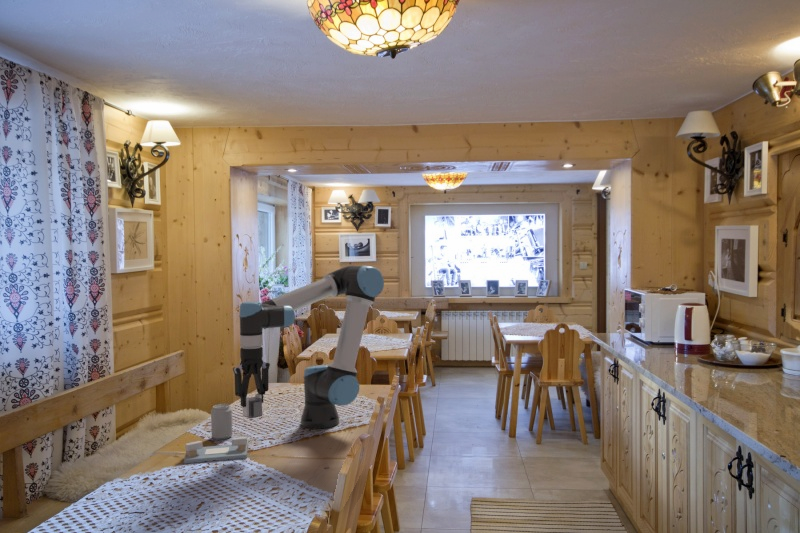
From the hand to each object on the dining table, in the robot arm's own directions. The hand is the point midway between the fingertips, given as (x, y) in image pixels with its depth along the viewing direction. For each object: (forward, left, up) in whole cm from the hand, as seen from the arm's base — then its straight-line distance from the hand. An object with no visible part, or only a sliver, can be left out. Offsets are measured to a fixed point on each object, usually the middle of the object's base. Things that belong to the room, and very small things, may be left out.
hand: (252, 414), depth 207 cm
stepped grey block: (0, 0, -1) cm, 1 cm away
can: (+12, -20, -13) cm, 27 cm away
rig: (+12, 0, -13) cm, 18 cm away
